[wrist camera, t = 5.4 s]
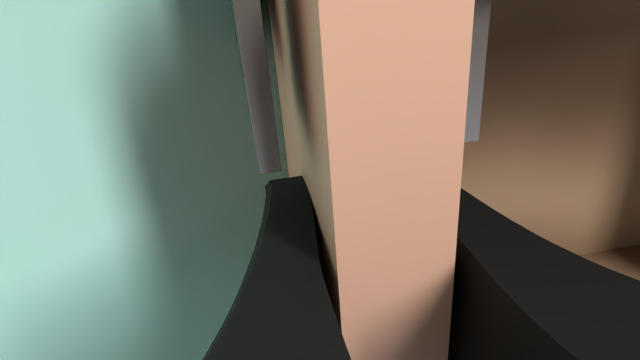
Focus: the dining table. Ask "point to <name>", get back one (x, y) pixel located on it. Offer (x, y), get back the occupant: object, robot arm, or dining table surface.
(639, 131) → the cabinet
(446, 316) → the door
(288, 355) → the robot arm
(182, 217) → the dining table surface
